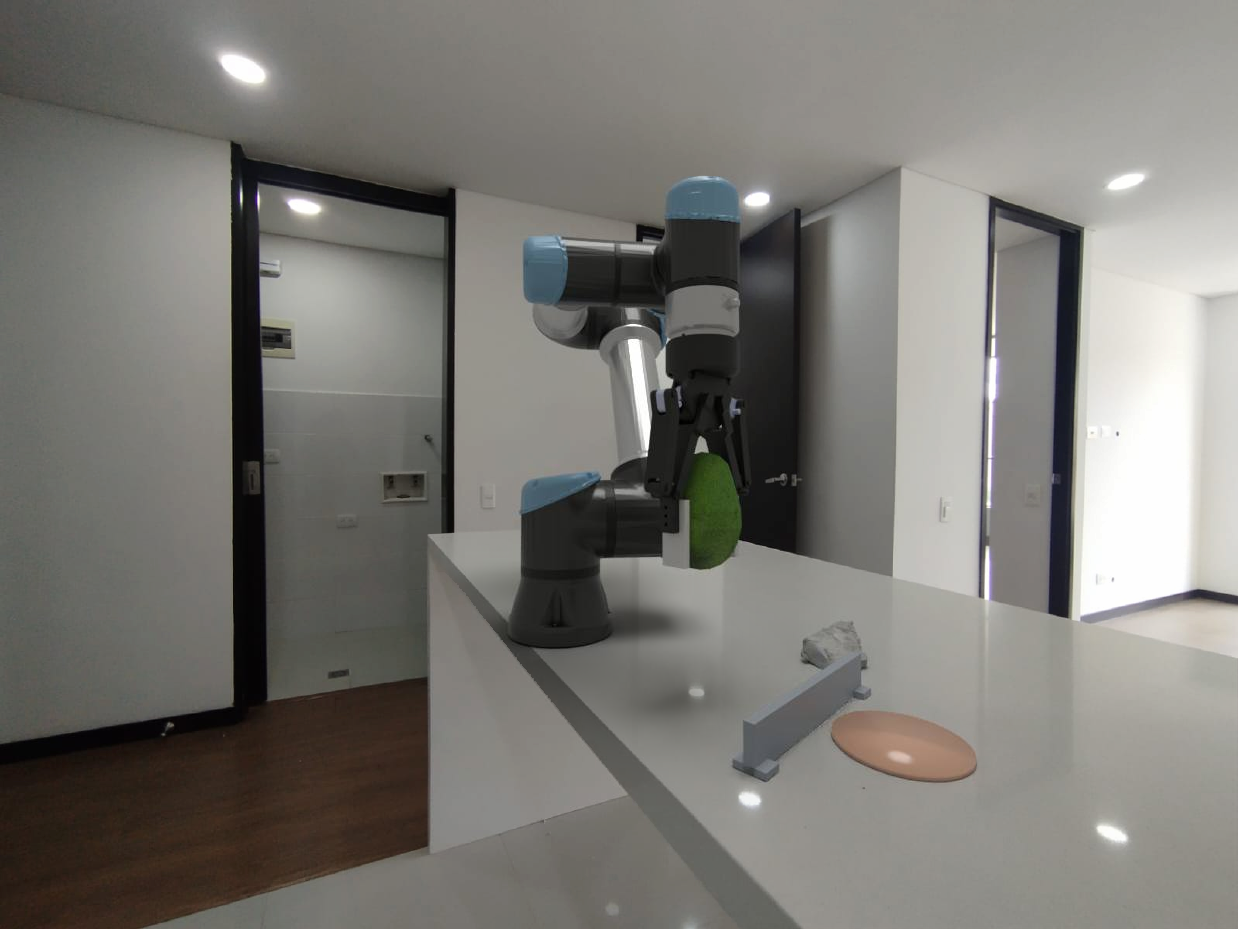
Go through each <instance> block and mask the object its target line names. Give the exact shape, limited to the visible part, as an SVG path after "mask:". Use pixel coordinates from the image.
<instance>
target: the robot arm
mask: <svg viewBox="0 0 1238 929" xmlns="http://www.w3.org/2000/svg"><path fill="white" fill-rule="evenodd" d="M739 200H740V199H739V192H738V190H737V188H736V187H735V185H734V184H733V183H732V182H730V181H729V180H727V179H725V178H723V177H720V176H710V175H698V176H697V175H696V176H693V177H688V178H685V179H683V180H680V181H679V182H677V183H675V184H674V185H673V186H672V187H671V188H670V189H669V191H668V192H667V194H666V197H665V208H664V211H665V212H664V215H663V221H664V228H665V229H664V235H663V237H662V239H661V241H660V242H646V241H634V240H633V241H631V240H610V239H599V238H598V239H597V238H587V237H586V238H584V237H573V236H572V237H571V236H560V235H557V234H551V235H533V236H532V235H531V236H528V237H526V238H525V239H524V242H523V244H522V283H523V284H522V285H523V287H522V290H523V297H524V299H525V301H526V302H528V303H531V304H532V318H533V322H534V325H535V326H536V328H537V330H538V331H539V332H540V333H541V334H542V335H543V336H545V337H546V338H547V339H549V340H550V341H552V342H554V343H557V344H559V345H561V346H563V347H564V346H565V347H567V348H571V349H574V350H575V349H577V350H587V351H589V350H591V351H599V356H600V358H601V360H602V361H603V362H604V364H606V366H608V369H609V370H608V371H609V378H610V379H609V380H610V390H611V391H610V392H611V398H612V399H611V401H612V408H613V409H612V411H613V418H614V419H613V420H614V431H615V441H616V442H615V444H616V450H617V451H616V453H617V462H618V464H617V465H615V467H614V468H613V469H612V471H611V473H610V479H602V475H601V473H600V471H598V470H588V471H581V472H571V473H564V474H563V473H562V474H557V475H548V476H543V477H537V478H532V479H529V480H528V481H526V482H525V483H524V484H523V486H522V488H521V492H520V509H519V511H518V513H519V514H518V515H520V581H519V584H518V588H517V591H516V594H515V596H514V600H513V603H512V609H511V612H510V614H509V616H508V622H507V623H508V627H507V628H508V630H507V631H508V633H507V634H508V636H509V638H510V639H511V640H513V641H515V642H517V643H519V644H523V645H527V646H533V647H541V648H565V647H577V646H582V645H587V644H588V645H589V644H592V643H595V642H598V641H601V640H604V639H605V638H608V636H610V635H611V634H612V632H613V614H612V611H611V609H610V608H609V603H608V599H607V595H606V592H605V589H604V586H603V583H602V578H601V559H622V558H623V559H625V558H626V559H630V558H631V559H634V558H661V559H662V566H665V567H670V568H671V567H672V568H675V569H676V568H677V569H682V570H687V569H690V568H689V500H681V499H682V498H683V495H684V491H685V488H686V484H687V480H688V476H689V472H690V468H691V465H692V461H693V457H694V454H696V453H695V452H696V449H697V445H698V441H699V438H700V437H701V438H702V439H703V440H705V443H706V447H707V453H712V454H715V455H717V456H720V457H721V458H722V459H723V460H724V461H725V462H726V463H727V464H728V465H729V468H730V471H731V474H732V477H733V480H734V484H735V487H736V491H737V495H738V500H739V501H740V496H747V495H748V494H749V492H750V488H751V486H752V475H751V464H750V463H751V462H750V452H749V439H748V430H747V410H748V402H747V400H746V398H739V399H735V398H734V397H732V393H731V389H730V382H731V379H732V378H735V377H737V376H738V375H739V373H740V369H741V368H740V366H741V365H740V362H741V360H740V358H741V354H740V353H741V351H740V349H741V348H740V345H741V343H740V341H739V340H738V339H737V338H736V337H735V336H737V335H738V334H739V332H740V306H741V301H740V298H739V296H740V257H741V256H740V255H741V254H740V249H741V247H740V246H741V244H740V243H741V242H740V241H741V234H740V233H741V224H742V220H741V219H742V218H741V216H740V202H739ZM668 339H669V340H668ZM664 348H665V349H664ZM663 350H665V353H664V354H665V356H664V357H665V360H664V362H665V363H664V364H665V376H667V378H669V379H671V380H672V384H671V387H667V388H661V386H660V380H659V372H658V368H657V367H658V366H657V363H656V362H657V361H656V359H657V358H658V357H659V356H660V353H661V352H662V351H663ZM739 544H740V542H739V540H738V543H737V546H736V547H735V549H734V551H733V553H732V555H731V557H730V558H738V557H739V553H740V552H739V547H740V545H739ZM610 633H611V634H610ZM609 634H610V635H609Z"/></svg>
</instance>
